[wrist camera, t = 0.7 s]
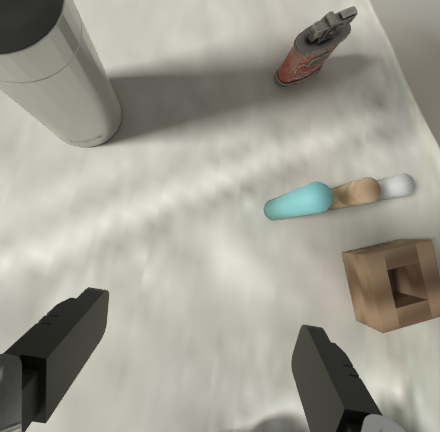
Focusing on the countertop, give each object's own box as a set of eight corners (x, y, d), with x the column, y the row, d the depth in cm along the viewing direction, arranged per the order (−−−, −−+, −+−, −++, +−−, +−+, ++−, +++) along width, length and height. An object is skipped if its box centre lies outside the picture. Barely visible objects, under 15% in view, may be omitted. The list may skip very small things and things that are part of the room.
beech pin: (319, 191, 38) (355, 179, 30) (337, 188, 39) (377, 175, 31) (323, 211, 38) (360, 204, 30) (341, 207, 38) (383, 200, 31)
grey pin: (366, 183, 39) (392, 175, 34) (383, 180, 40) (411, 172, 35) (370, 202, 39) (397, 197, 34) (387, 198, 40) (416, 193, 35)
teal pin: (262, 201, 37) (301, 184, 25) (281, 197, 37) (328, 179, 25) (266, 222, 36) (307, 214, 25) (285, 218, 37) (335, 209, 25)
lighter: (280, 92, 38) (315, 42, 29) (269, 72, 38) (300, 16, 29) (323, 72, 40) (370, 17, 30) (312, 53, 40) (356, -8, 30)
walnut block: (341, 252, 38) (366, 254, 33) (399, 239, 39) (431, 239, 35) (356, 320, 37) (383, 333, 32) (414, 304, 39) (448, 314, 34)
